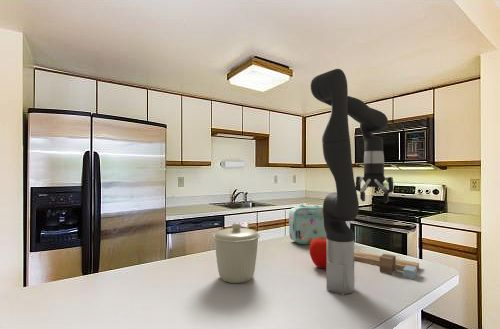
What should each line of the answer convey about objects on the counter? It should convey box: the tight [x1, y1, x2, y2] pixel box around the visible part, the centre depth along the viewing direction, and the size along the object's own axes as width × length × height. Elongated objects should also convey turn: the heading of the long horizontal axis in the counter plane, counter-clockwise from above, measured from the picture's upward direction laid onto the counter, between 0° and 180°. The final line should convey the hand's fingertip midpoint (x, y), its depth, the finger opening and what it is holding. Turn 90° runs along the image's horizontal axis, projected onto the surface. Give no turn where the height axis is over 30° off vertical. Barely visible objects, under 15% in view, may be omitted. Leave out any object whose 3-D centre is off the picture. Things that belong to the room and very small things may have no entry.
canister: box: [212, 222, 261, 284], centre depth 105 cm, size 18×18×21 cm
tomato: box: [309, 237, 327, 269], centre depth 116 cm, size 11×11×13 cm
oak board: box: [354, 250, 420, 272], centre depth 120 cm, size 8×26×2 cm, turn 49°
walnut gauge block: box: [379, 253, 397, 275], centre depth 112 cm, size 6×4×6 cm
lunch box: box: [288, 204, 326, 245], centre depth 156 cm, size 27×10×21 cm, turn 104°
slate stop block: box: [402, 265, 418, 280], centre depth 106 cm, size 6×4×3 cm, turn 139°
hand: (374, 202), depth 112 cm, fingers open, 8 cm apart
